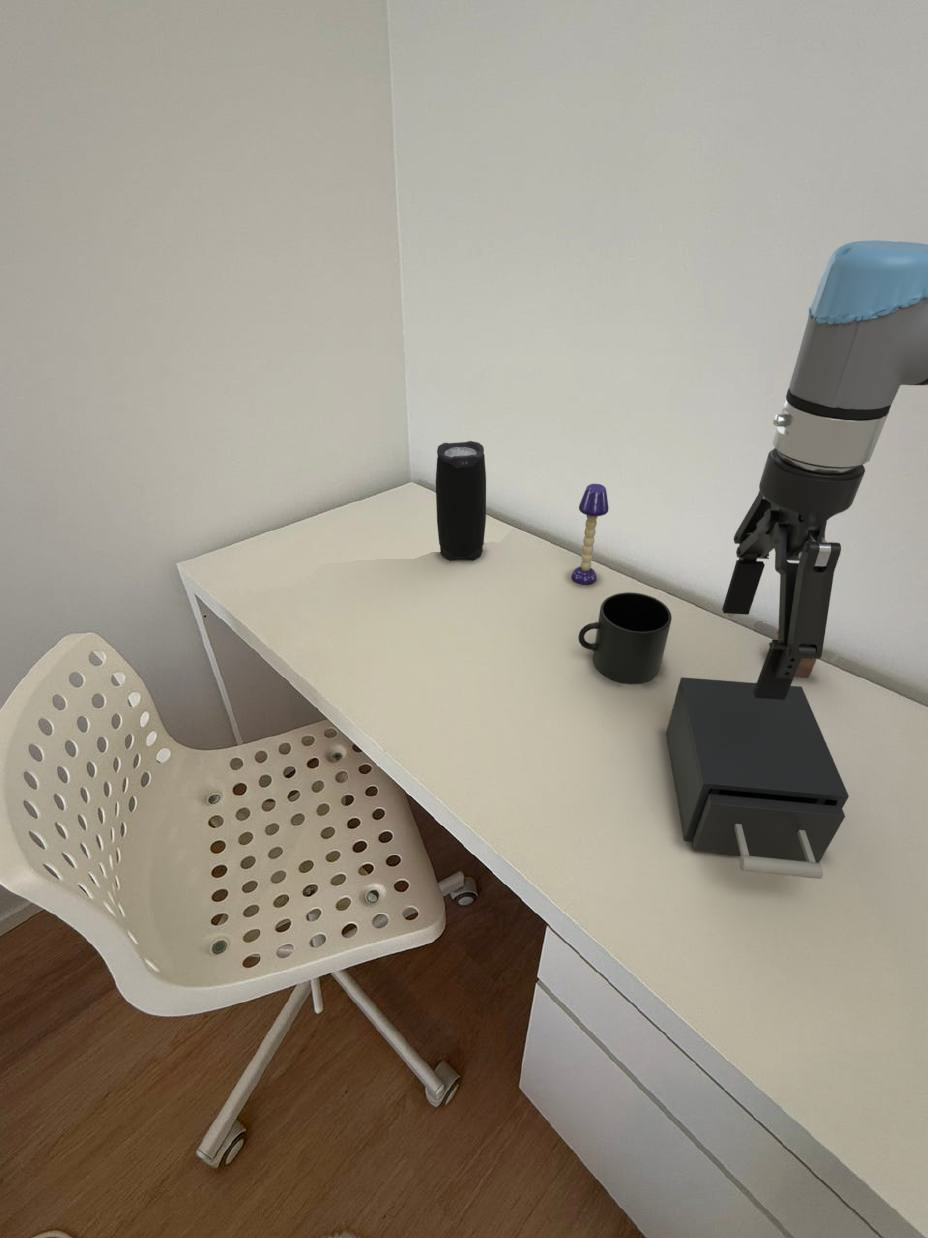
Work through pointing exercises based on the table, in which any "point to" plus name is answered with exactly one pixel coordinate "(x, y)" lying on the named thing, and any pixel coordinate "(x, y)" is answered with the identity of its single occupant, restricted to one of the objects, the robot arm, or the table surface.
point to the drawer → (768, 831)
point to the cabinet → (746, 747)
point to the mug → (629, 637)
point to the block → (803, 665)
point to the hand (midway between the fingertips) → (750, 651)
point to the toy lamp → (590, 529)
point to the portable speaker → (461, 499)
